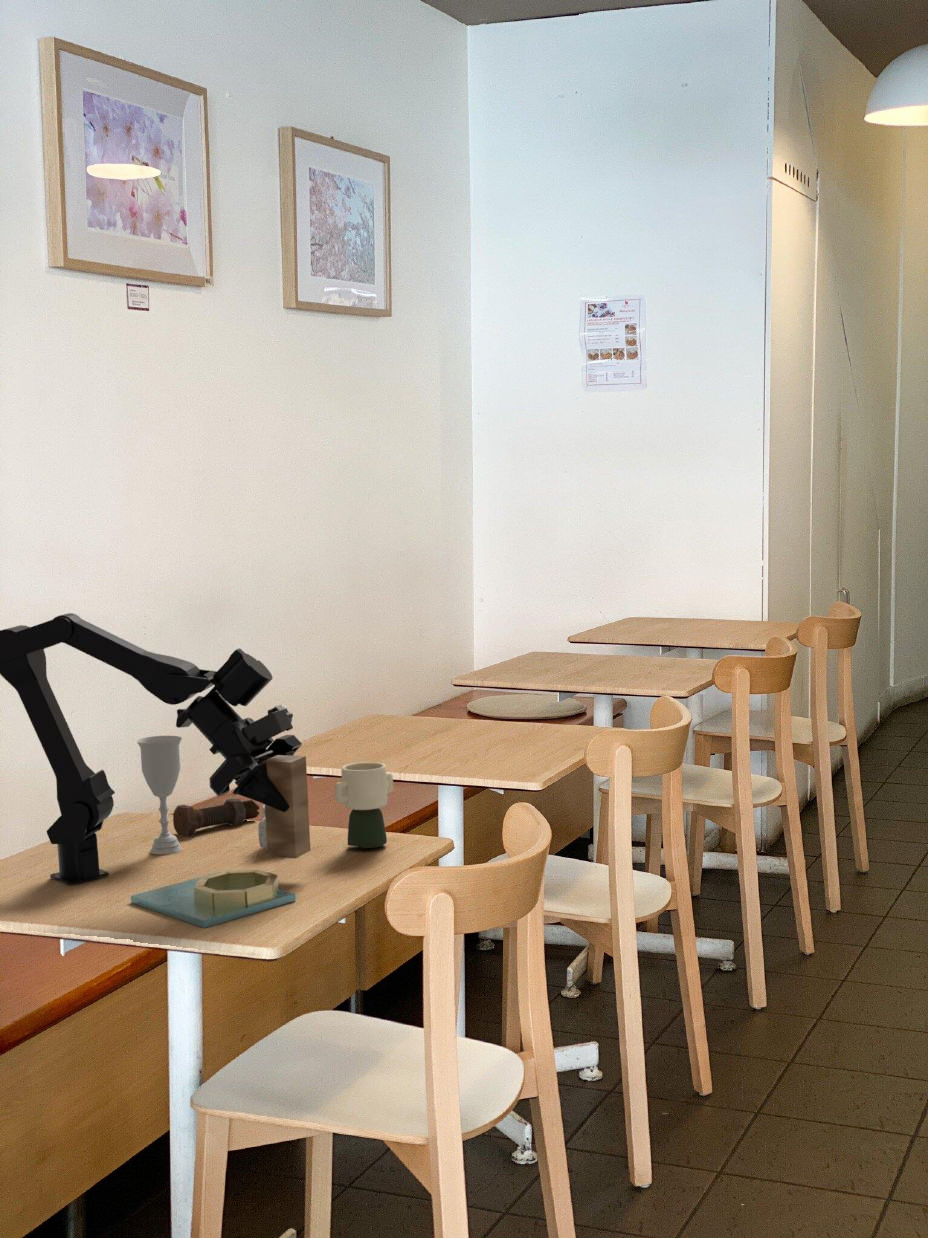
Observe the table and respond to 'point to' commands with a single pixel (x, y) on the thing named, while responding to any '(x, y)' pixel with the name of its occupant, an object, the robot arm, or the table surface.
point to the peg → (292, 826)
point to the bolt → (213, 816)
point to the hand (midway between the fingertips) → (295, 806)
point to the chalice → (161, 782)
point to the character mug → (365, 801)
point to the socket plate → (196, 911)
